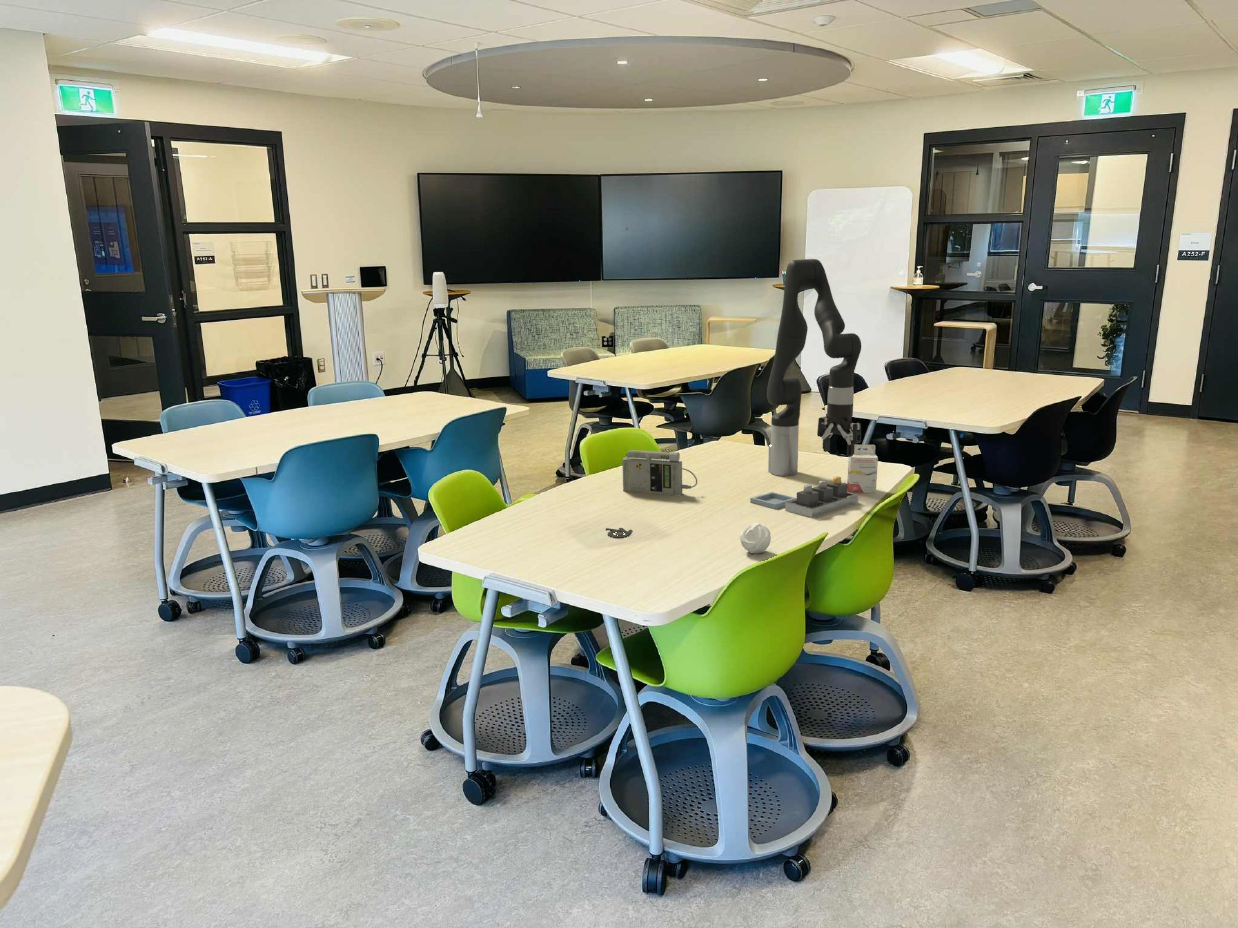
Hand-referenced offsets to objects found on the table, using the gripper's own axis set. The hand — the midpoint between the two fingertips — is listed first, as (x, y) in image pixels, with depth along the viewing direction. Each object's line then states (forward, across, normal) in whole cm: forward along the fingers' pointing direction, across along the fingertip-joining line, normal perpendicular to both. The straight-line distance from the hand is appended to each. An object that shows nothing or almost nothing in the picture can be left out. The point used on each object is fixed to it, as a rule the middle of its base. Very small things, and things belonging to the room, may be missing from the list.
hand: (838, 453), depth 273 cm
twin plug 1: (+15, 0, -14) cm, 21 cm away
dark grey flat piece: (+16, -27, -66) cm, 73 cm away
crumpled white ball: (+15, +13, -51) cm, 55 cm away
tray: (+16, -13, -14) cm, 25 cm away
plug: (+15, 0, 0) cm, 15 cm away
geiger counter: (+16, -47, -30) cm, 58 cm away
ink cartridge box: (+16, -3, +17) cm, 23 cm away
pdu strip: (+15, 0, -7) cm, 17 cm away
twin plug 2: (+15, 0, -7) cm, 17 cm away
